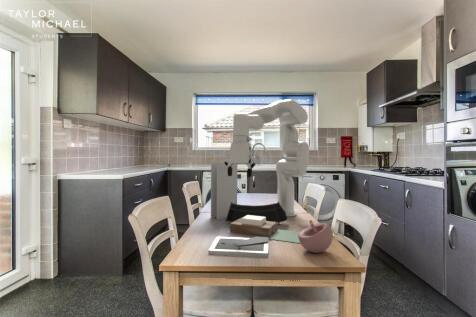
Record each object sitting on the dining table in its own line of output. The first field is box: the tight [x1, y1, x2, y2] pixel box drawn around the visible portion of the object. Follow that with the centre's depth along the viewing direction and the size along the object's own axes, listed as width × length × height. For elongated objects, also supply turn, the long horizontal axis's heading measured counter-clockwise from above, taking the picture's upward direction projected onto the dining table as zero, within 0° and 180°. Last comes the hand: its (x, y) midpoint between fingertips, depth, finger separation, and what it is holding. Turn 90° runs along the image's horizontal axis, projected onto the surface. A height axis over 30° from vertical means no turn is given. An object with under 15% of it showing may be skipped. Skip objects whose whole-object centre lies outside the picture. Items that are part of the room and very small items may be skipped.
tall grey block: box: [210, 161, 238, 220], centre depth 155 cm, size 14×6×30 cm, turn 133°
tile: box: [242, 215, 266, 226], centre depth 126 cm, size 7×9×2 cm
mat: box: [268, 229, 301, 245], centre depth 120 cm, size 15×14×1 cm
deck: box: [229, 218, 278, 239], centre depth 126 cm, size 12×18×4 cm, turn 66°
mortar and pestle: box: [298, 219, 334, 254], centre depth 102 cm, size 12×12×12 cm
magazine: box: [224, 202, 288, 225], centre depth 141 cm, size 17×3×30 cm
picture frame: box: [207, 236, 269, 258], centre depth 105 cm, size 16×3×21 cm
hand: (239, 176), depth 132 cm, fingers open, 9 cm apart
